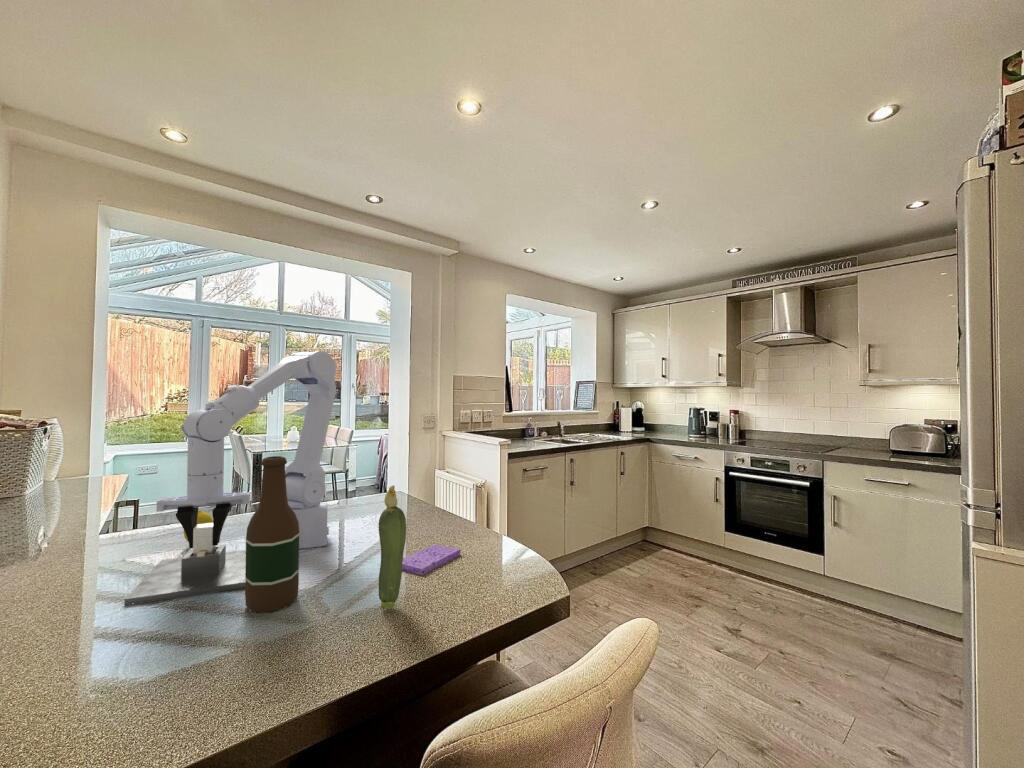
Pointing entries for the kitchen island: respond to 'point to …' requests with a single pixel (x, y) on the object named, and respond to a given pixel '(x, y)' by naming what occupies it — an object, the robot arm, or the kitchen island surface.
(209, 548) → the post
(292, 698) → the kitchen island surface
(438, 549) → the sponges
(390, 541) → the vegetable
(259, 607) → the beer bottle
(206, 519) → the lemon
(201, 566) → the stand base
